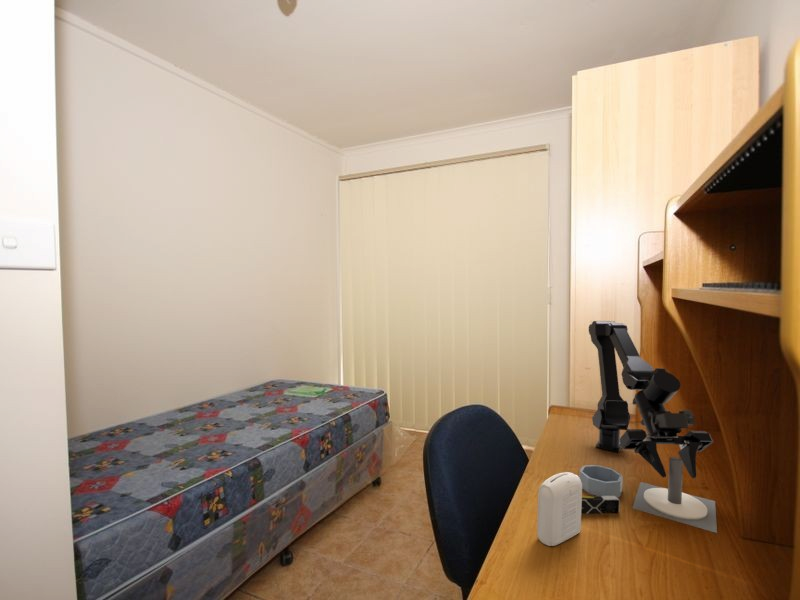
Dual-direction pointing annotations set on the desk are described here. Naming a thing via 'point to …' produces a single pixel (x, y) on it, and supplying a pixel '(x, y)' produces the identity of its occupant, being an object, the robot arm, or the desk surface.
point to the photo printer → (559, 508)
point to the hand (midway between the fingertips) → (679, 477)
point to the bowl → (601, 480)
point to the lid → (675, 496)
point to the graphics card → (600, 504)
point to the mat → (704, 523)
